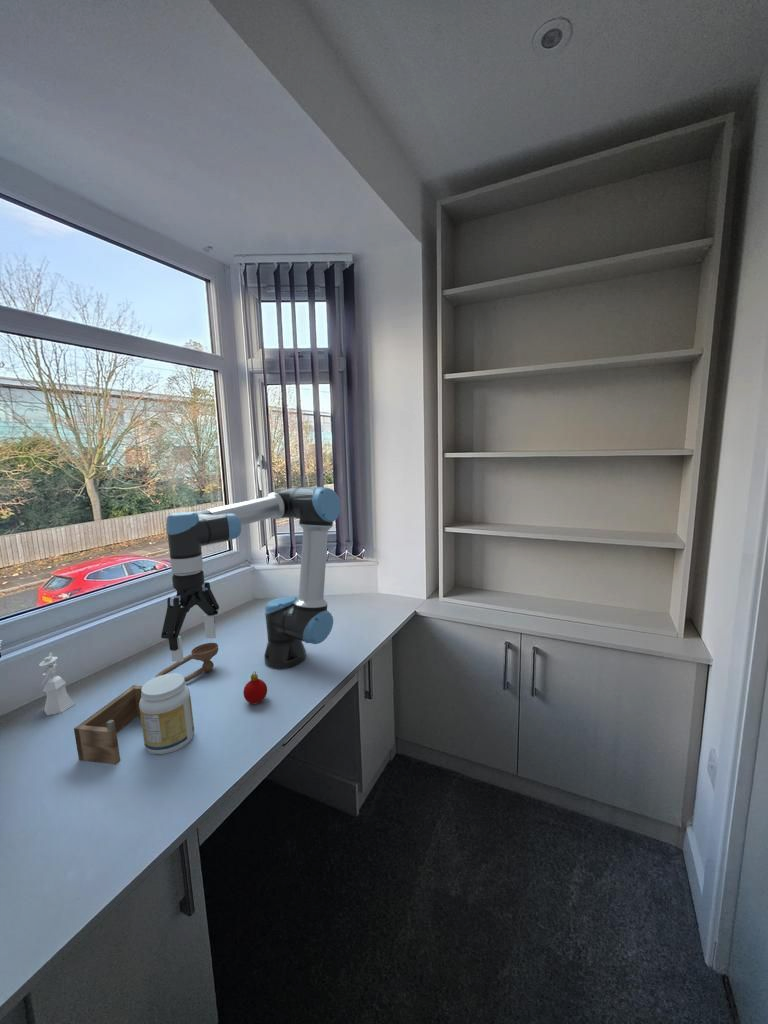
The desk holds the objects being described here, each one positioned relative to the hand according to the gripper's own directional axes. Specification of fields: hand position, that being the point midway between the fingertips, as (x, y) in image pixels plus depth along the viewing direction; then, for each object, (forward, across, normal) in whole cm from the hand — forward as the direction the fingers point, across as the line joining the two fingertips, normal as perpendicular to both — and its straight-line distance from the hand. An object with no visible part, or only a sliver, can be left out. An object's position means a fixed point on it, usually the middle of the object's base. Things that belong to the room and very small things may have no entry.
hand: (195, 648), depth 113 cm
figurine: (+26, -4, -54) cm, 60 cm away
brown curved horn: (+26, -30, -26) cm, 48 cm away
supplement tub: (+26, +3, -8) cm, 27 cm away
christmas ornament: (+26, -17, +6) cm, 31 cm away
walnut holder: (+26, +4, -22) cm, 34 cm away
